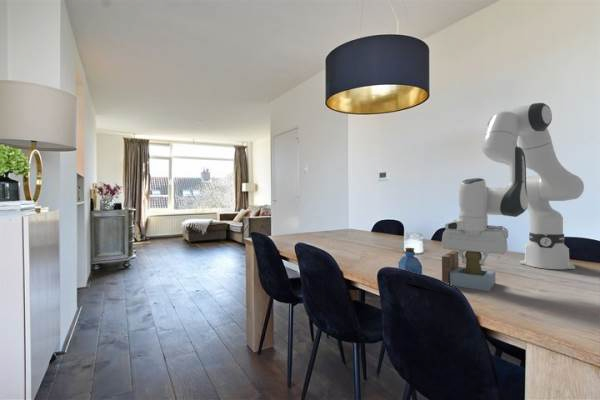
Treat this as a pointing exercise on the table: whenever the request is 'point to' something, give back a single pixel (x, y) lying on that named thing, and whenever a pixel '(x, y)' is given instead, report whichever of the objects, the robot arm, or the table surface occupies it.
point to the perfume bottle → (410, 262)
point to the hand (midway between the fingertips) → (473, 264)
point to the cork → (473, 263)
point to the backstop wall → (449, 265)
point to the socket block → (472, 279)
